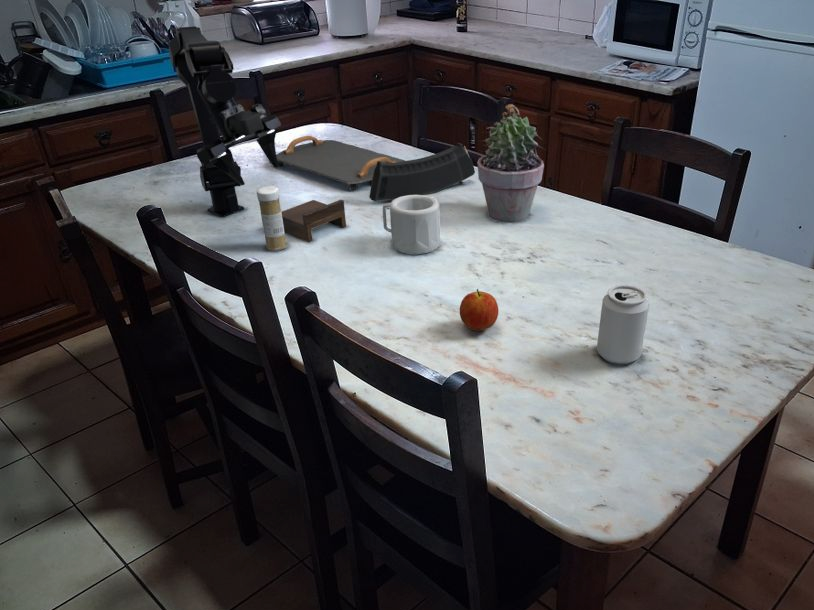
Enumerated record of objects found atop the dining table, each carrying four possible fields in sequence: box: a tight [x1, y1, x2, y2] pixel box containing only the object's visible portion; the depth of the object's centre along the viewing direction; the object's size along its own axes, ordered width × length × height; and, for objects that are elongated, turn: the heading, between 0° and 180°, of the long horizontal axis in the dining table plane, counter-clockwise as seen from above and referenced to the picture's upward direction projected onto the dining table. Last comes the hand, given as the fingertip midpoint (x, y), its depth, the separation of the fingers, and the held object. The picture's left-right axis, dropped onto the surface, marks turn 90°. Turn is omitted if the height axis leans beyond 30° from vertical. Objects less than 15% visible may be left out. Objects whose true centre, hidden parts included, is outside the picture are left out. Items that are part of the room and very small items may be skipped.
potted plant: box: [477, 103, 548, 224], centre depth 164 cm, size 18×20×25 cm
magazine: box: [368, 142, 476, 202], centre depth 181 cm, size 17×3×30 cm
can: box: [596, 284, 650, 365], centre depth 116 cm, size 8×8×12 cm
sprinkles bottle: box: [256, 185, 288, 252], centre depth 152 cm, size 5×5×13 cm
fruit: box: [459, 288, 499, 332], centre depth 125 cm, size 7×7×8 cm
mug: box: [382, 195, 441, 255], centre depth 154 cm, size 14×11×10 cm
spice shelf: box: [281, 199, 347, 243], centre depth 163 cm, size 11×12×6 cm
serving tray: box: [276, 135, 406, 192], centre depth 198 cm, size 39×23×6 cm, turn 51°
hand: (260, 176), depth 151 cm, fingers open, 9 cm apart
